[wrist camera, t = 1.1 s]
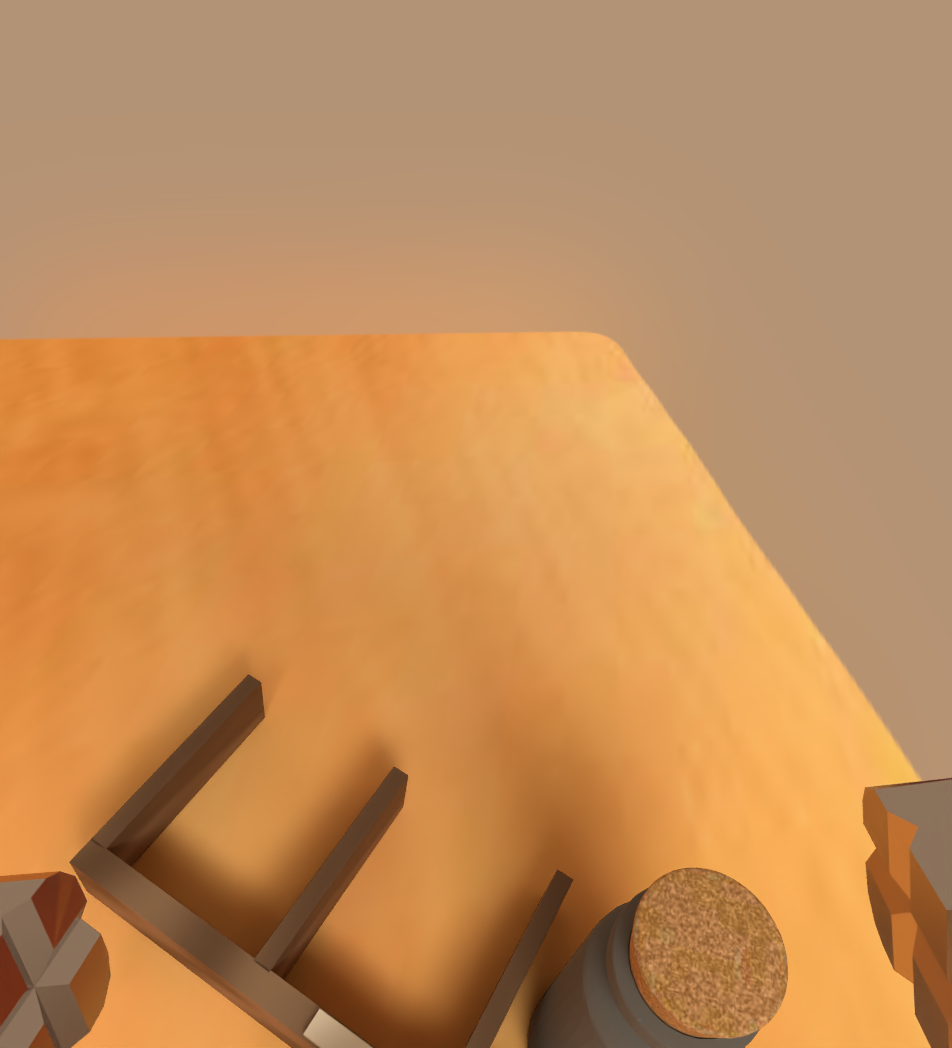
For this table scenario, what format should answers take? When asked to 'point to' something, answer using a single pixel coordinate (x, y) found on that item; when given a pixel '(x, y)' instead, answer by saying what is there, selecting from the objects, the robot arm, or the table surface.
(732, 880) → the bottle
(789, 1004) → the table surface
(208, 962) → the notched rack
